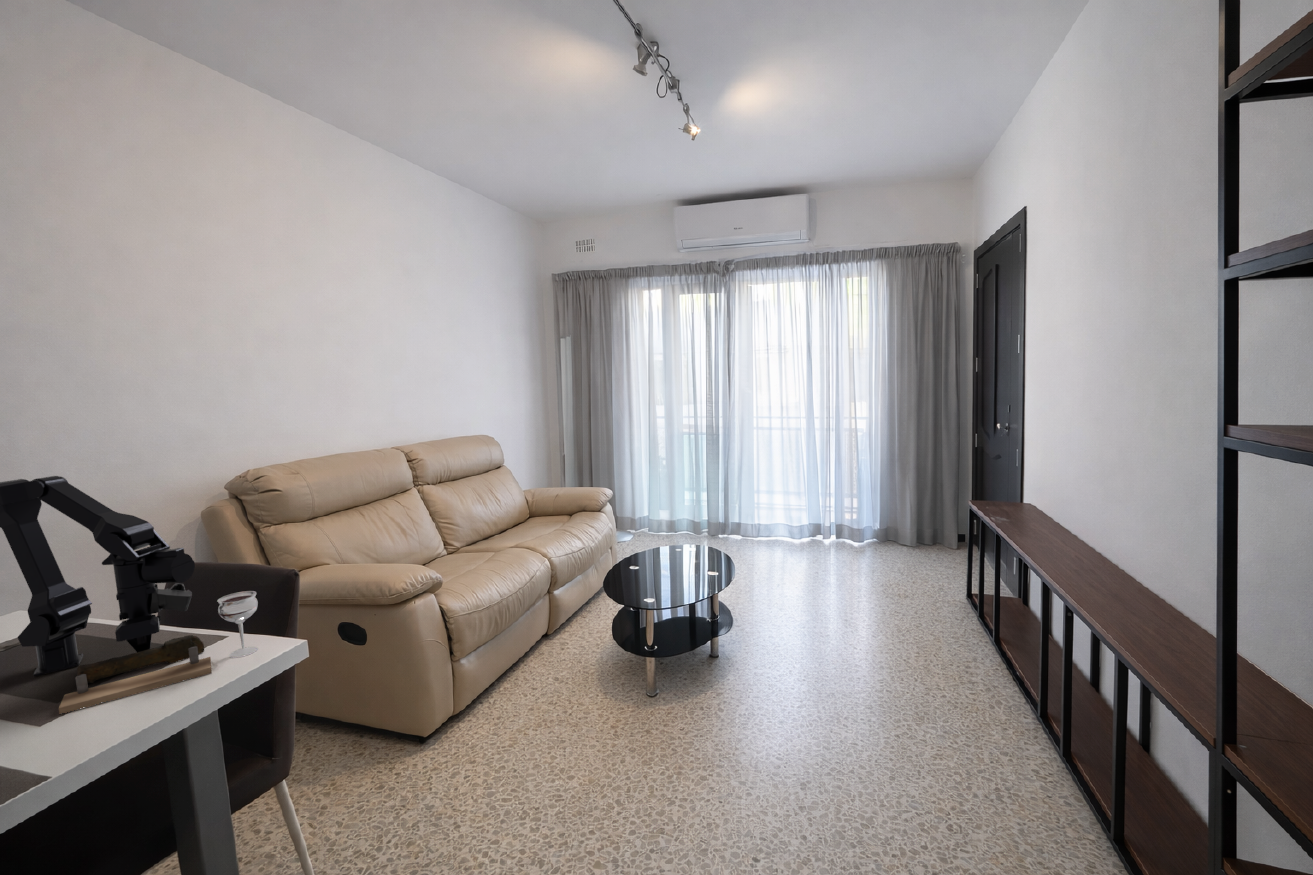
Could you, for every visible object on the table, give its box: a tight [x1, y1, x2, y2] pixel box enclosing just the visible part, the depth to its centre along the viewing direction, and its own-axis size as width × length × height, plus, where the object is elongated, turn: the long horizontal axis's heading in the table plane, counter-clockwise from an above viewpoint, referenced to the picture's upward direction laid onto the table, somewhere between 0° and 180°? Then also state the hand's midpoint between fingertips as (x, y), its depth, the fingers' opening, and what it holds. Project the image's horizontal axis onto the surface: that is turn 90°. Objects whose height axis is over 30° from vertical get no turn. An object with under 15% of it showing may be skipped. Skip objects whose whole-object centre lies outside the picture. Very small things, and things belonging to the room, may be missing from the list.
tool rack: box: [58, 646, 212, 715], centre depth 109 cm, size 6×21×4 cm, turn 128°
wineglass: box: [216, 590, 259, 659], centre depth 122 cm, size 7×7×12 cm
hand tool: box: [76, 634, 205, 684], centre depth 117 cm, size 19×4×5 cm, turn 127°
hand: (145, 657), depth 119 cm, fingers closed
